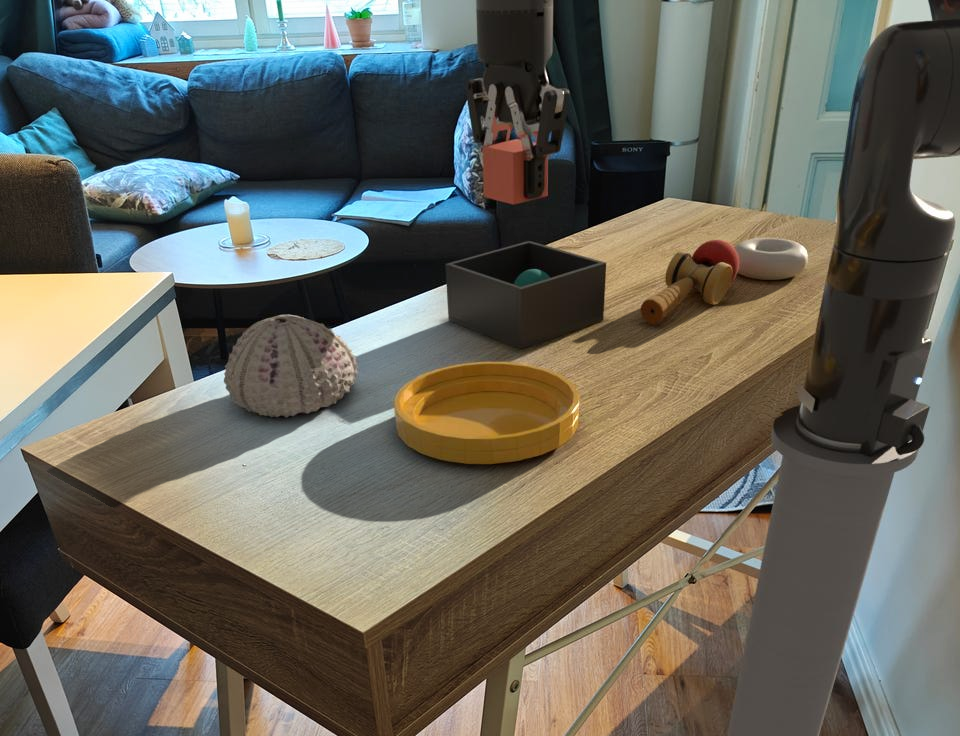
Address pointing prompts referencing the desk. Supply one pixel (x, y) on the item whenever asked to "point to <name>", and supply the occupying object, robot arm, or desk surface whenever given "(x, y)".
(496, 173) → the toy block
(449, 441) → the bowl
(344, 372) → the sea urchin shell
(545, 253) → the bin
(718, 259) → the kendama
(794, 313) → the desk surface
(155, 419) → the desk surface
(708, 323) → the desk surface
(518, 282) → the toy ball
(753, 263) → the donut
